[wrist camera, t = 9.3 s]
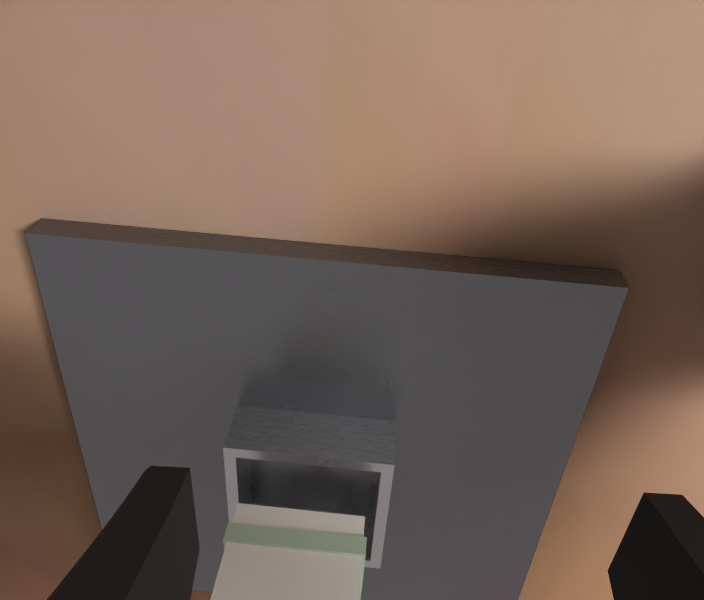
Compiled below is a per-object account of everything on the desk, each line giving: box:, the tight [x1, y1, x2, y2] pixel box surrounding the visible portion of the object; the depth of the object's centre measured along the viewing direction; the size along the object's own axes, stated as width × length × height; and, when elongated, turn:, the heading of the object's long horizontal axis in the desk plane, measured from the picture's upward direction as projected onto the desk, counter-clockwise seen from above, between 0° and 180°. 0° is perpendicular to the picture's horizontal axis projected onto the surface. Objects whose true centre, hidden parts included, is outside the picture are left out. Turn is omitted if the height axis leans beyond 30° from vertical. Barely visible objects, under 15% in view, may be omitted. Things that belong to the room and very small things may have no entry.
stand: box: [25, 219, 629, 600], centre depth 23 cm, size 18×18×4 cm
